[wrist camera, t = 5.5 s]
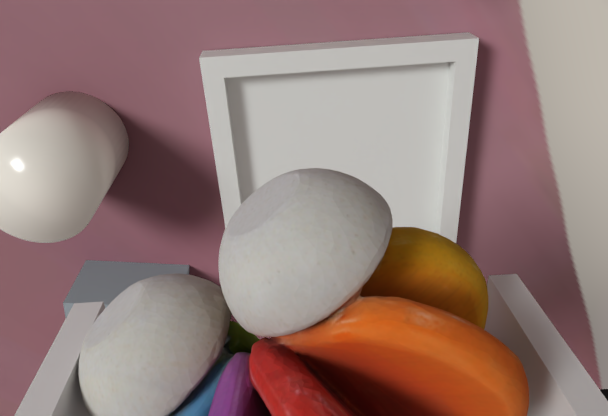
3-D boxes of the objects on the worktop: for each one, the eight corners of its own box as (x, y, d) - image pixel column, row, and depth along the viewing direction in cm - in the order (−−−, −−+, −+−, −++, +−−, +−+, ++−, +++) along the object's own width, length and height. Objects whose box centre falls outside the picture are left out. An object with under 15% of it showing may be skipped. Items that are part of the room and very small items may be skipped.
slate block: (86, 258, 30) (63, 302, 27) (189, 263, 31) (179, 307, 27) (93, 310, 32) (72, 358, 29) (189, 314, 33) (180, 361, 29)
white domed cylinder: (14, 95, 25) (-52, 140, 20) (116, 88, 25) (77, 131, 20) (45, 185, 28) (-7, 247, 22) (138, 178, 28) (108, 238, 23)
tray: (202, 50, 25) (199, 57, 23) (468, 32, 25) (479, 38, 24) (239, 294, 32) (237, 309, 31) (443, 277, 32) (450, 291, 31)
